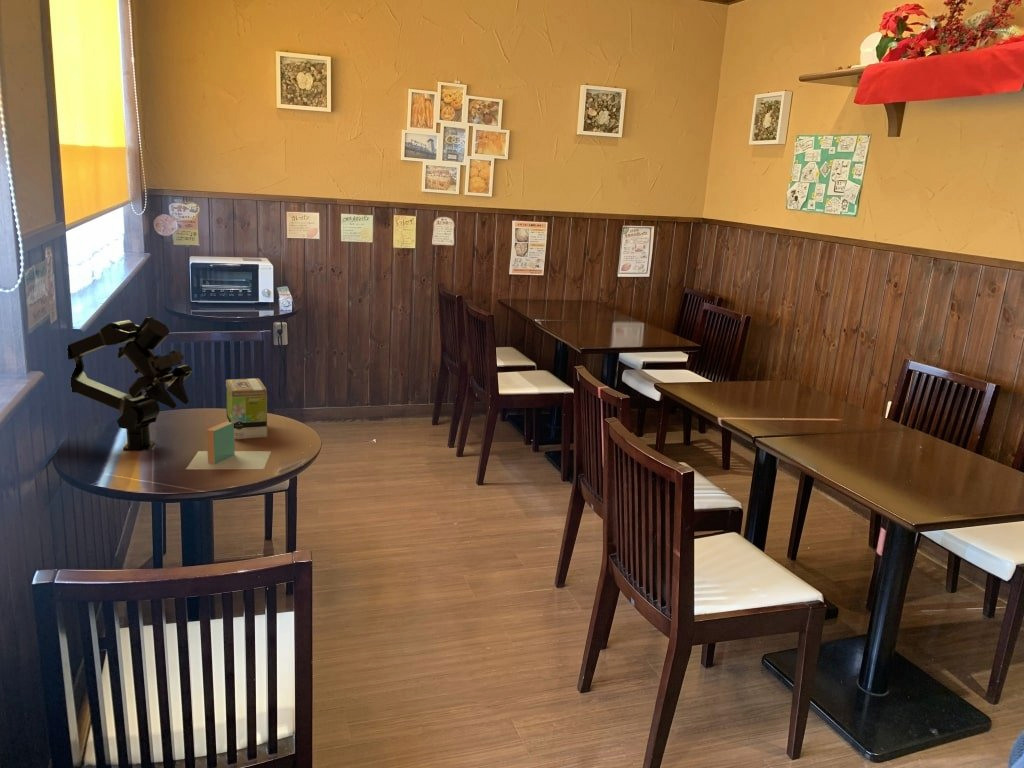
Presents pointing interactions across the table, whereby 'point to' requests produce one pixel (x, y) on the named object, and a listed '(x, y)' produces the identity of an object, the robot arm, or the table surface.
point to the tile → (220, 442)
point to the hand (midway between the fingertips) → (181, 405)
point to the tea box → (247, 407)
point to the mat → (232, 461)
